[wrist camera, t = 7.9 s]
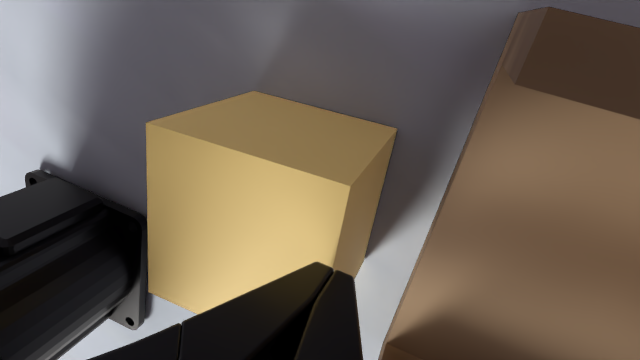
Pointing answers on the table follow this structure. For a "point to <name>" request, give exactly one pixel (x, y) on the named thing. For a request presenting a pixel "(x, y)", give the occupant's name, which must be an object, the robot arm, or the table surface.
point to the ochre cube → (257, 195)
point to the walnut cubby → (538, 208)
